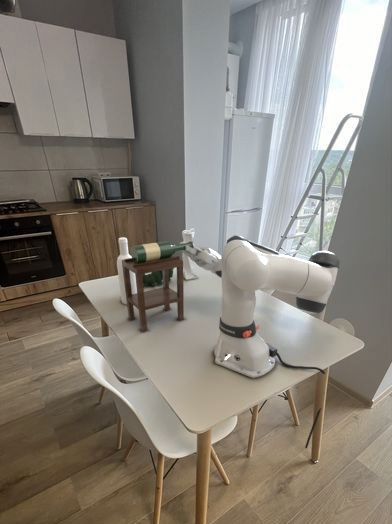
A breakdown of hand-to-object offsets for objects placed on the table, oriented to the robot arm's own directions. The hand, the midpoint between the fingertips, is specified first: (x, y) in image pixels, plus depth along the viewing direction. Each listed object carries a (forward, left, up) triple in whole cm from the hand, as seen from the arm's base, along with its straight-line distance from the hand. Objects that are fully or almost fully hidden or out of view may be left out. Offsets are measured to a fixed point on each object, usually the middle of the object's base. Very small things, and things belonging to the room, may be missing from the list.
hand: (182, 246), depth 122 cm
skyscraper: (+30, -32, -30) cm, 53 cm away
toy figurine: (+35, -12, -30) cm, 47 cm away
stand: (+3, +14, -30) cm, 33 cm away
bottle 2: (+2, +9, -4) cm, 10 cm away
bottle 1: (+26, +12, -30) cm, 41 cm away
